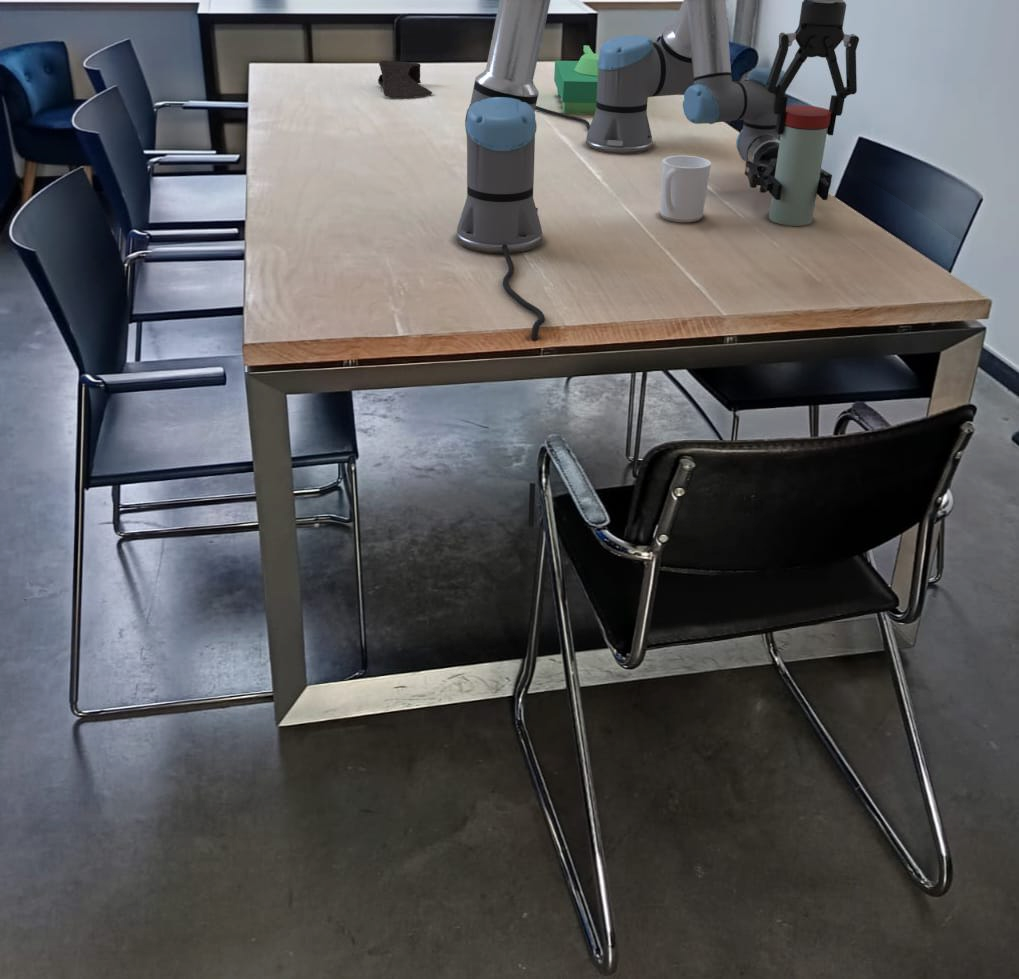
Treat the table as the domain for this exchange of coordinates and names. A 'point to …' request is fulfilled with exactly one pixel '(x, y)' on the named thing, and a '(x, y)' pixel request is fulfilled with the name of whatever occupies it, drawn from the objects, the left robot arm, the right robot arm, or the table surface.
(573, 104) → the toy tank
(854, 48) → the left robot arm
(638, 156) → the table surface
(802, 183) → the jar
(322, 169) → the table surface
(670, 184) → the mug
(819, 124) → the lid
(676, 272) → the table surface
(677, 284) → the table surface
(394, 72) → the axe head
